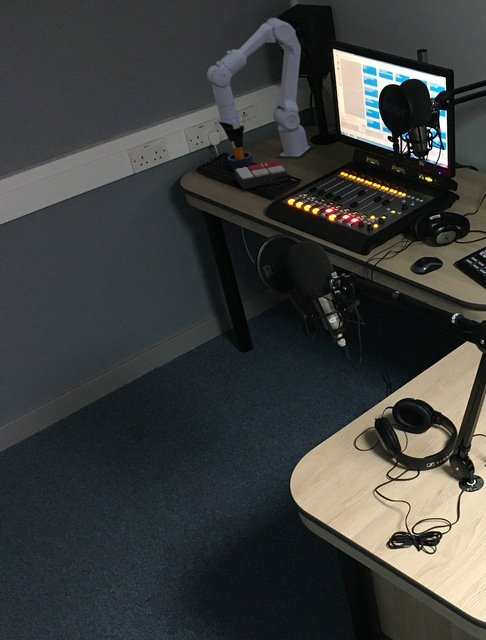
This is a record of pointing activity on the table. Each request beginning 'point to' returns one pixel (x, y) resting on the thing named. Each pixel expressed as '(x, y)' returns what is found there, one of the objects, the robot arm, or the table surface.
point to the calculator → (259, 174)
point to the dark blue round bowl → (240, 160)
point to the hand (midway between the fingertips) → (236, 144)
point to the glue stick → (238, 152)
